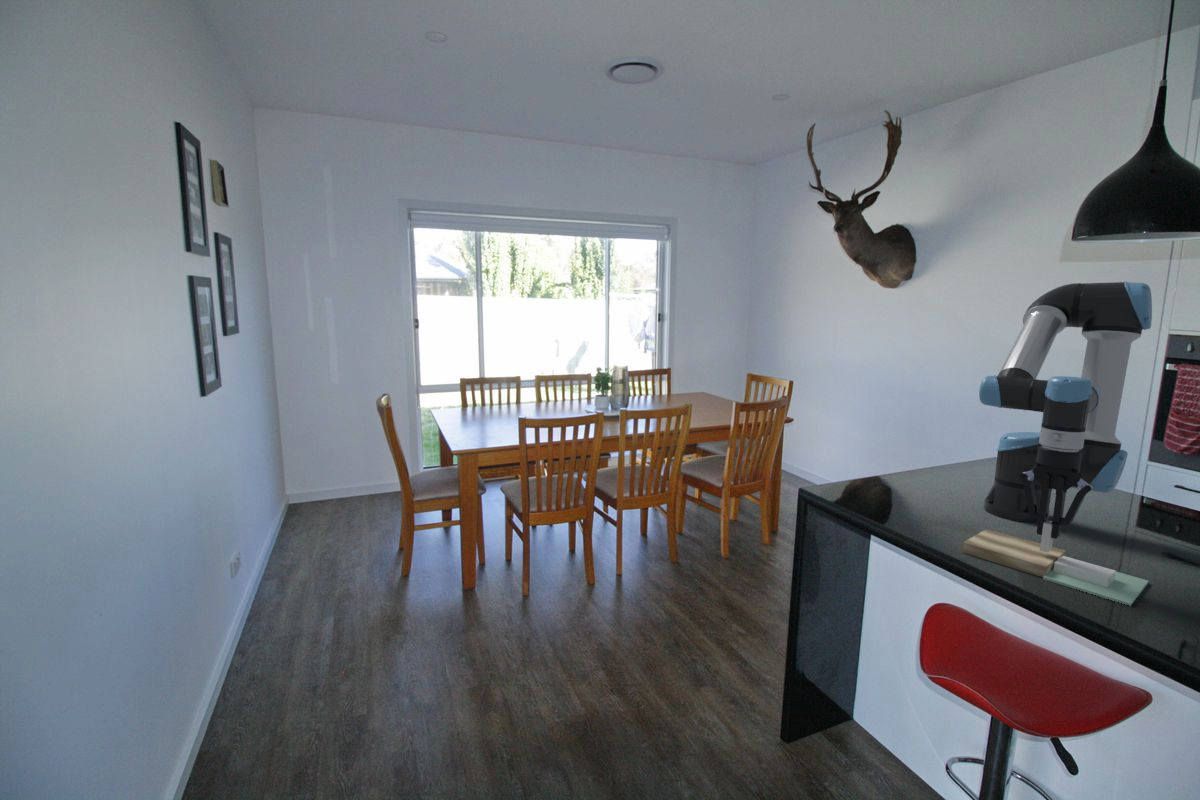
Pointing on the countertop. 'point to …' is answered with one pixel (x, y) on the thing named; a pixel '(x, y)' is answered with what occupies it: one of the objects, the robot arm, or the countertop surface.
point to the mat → (1118, 591)
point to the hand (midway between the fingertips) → (1045, 549)
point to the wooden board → (1012, 552)
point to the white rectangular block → (1085, 571)
